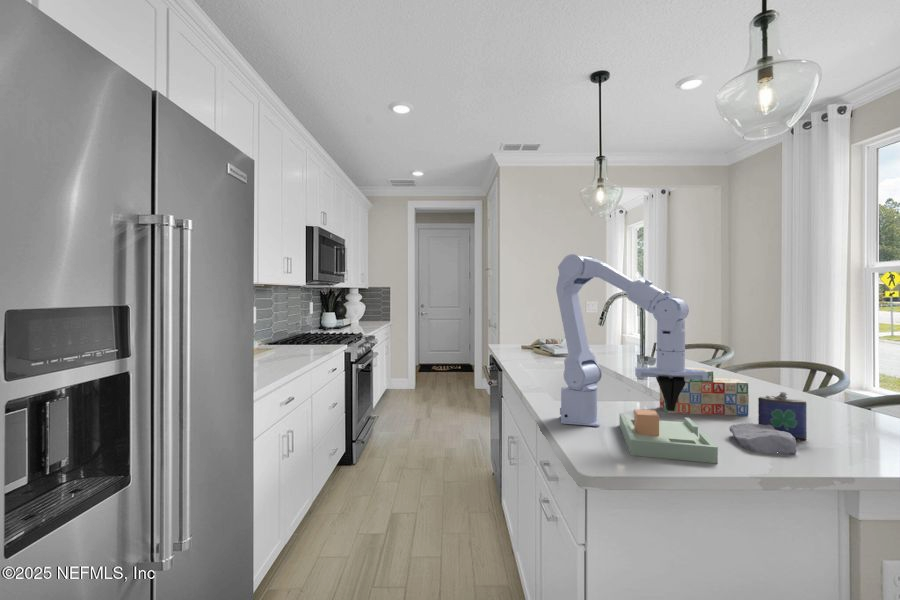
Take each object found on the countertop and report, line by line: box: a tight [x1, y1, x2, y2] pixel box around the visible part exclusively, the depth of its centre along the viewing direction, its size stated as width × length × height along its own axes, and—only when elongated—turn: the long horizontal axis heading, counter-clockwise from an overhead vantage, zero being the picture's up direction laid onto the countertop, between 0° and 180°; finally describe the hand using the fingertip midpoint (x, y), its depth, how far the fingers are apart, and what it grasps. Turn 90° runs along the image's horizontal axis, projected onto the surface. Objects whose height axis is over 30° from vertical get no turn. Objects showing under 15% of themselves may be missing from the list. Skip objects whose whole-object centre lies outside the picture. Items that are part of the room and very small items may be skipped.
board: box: [619, 412, 719, 464], centre depth 96 cm, size 16×21×3 cm
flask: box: [757, 391, 808, 441], centre depth 99 cm, size 9×3×11 cm, turn 67°
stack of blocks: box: [658, 367, 750, 417], centre depth 121 cm, size 21×6×12 cm, turn 81°
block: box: [633, 409, 660, 436], centre depth 97 cm, size 4×4×4 cm
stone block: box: [729, 422, 798, 454], centre depth 95 cm, size 12×5×10 cm
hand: (670, 409), depth 96 cm, fingers closed
